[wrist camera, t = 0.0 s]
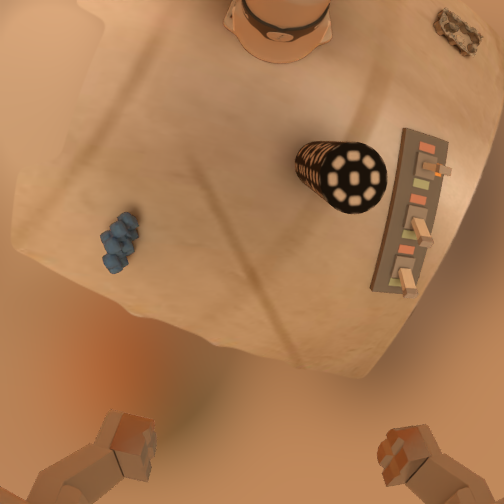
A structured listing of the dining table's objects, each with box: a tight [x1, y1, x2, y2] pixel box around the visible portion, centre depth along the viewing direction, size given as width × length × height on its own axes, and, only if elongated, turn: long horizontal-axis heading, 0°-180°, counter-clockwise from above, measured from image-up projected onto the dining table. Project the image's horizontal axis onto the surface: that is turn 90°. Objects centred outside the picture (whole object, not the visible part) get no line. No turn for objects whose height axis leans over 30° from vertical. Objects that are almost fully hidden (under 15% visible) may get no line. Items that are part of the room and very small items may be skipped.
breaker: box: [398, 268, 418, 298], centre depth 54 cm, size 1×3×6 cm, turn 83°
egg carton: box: [433, 7, 483, 58], centre depth 40 cm, size 11×8×4 cm
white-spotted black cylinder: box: [295, 141, 387, 214], centre depth 43 cm, size 8×8×20 cm
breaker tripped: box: [423, 162, 452, 176], centre depth 46 cm, size 1×3×6 cm, turn 83°
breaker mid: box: [411, 217, 434, 248], centre depth 51 cm, size 1×3×6 cm, turn 83°
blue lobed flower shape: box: [100, 212, 139, 274], centre depth 51 cm, size 12×7×12 cm, turn 159°
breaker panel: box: [370, 128, 449, 294], centre depth 54 cm, size 32×10×2 cm, turn 173°
